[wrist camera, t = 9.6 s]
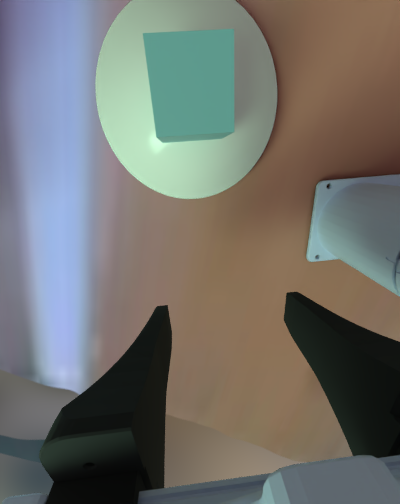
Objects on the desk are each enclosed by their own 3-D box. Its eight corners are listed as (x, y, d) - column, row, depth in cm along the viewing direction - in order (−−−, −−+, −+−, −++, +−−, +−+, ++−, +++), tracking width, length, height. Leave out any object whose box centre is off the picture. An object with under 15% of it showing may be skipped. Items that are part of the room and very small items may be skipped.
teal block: (219, 65, 15) (234, 28, 11) (221, 138, 17) (234, 132, 12) (153, 68, 15) (142, 33, 10) (162, 143, 16) (156, 137, 12)
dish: (277, -10, 14) (284, -24, 13) (266, 190, 20) (271, 192, 18) (79, -1, 14) (70, -15, 13) (122, 202, 19) (118, 205, 18)
